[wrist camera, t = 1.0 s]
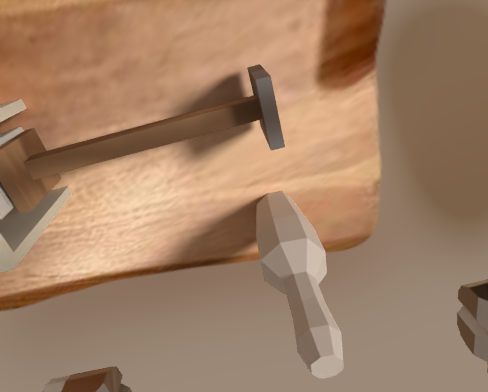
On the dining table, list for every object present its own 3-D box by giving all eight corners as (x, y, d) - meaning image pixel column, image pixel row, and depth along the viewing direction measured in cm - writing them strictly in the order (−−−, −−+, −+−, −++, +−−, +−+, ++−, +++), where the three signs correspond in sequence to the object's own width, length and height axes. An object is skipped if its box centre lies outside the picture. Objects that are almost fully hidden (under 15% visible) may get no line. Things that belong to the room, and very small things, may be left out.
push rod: (23, 128, 35) (-18, 153, 29) (259, 64, 34) (270, 76, 28) (53, 182, 38) (21, 216, 31) (272, 124, 37) (284, 146, 30)
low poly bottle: (287, 175, 42) (354, 319, 22) (309, 215, 44) (385, 374, 25) (240, 200, 43) (264, 358, 23) (264, 238, 45) (303, 408, 26)
